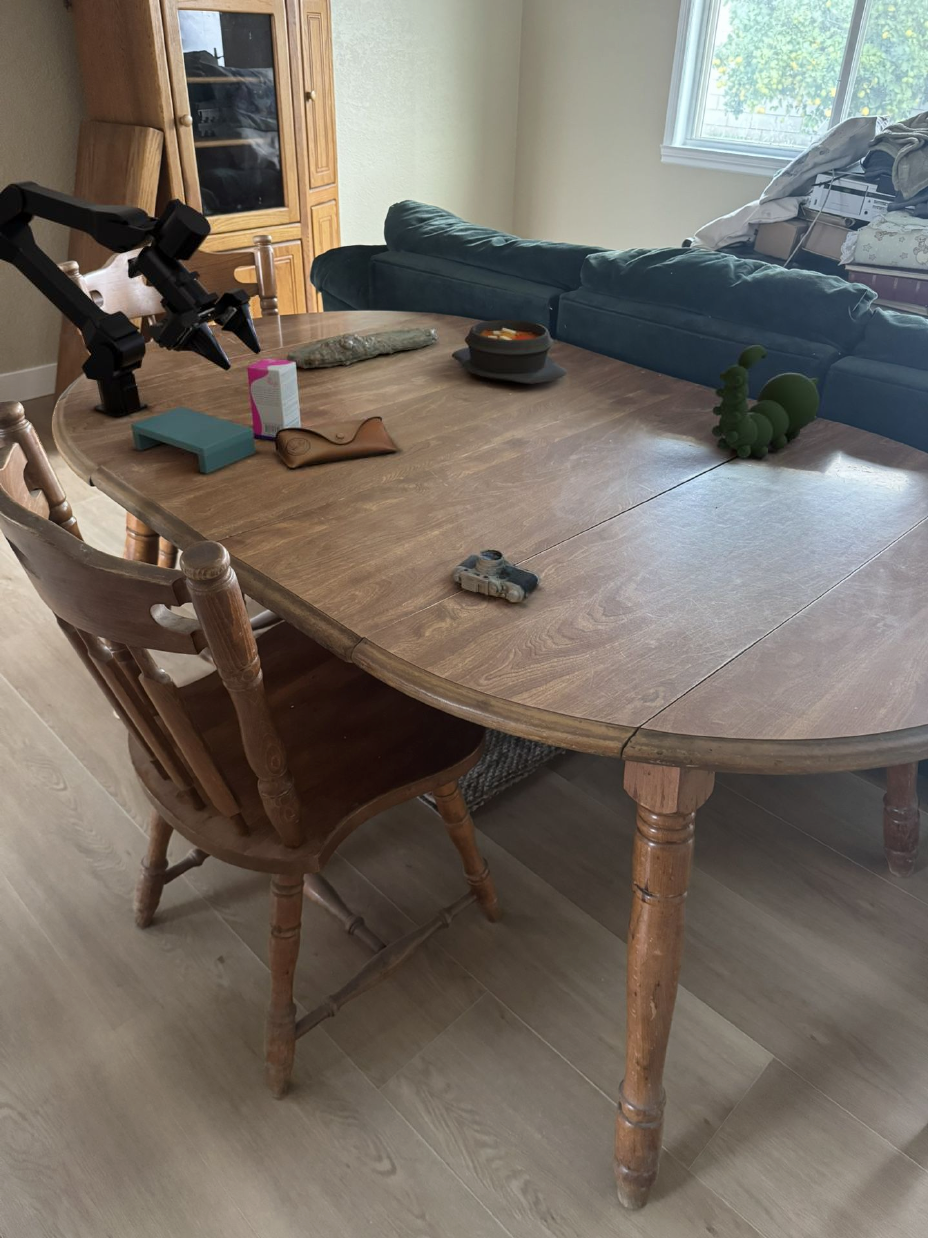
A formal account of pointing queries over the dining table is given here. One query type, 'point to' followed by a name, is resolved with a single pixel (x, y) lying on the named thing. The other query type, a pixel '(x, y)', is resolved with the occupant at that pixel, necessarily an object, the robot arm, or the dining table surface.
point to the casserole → (509, 352)
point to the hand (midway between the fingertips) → (244, 360)
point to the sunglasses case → (333, 442)
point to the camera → (495, 576)
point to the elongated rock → (360, 347)
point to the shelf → (197, 436)
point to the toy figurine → (762, 408)
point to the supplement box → (273, 396)
